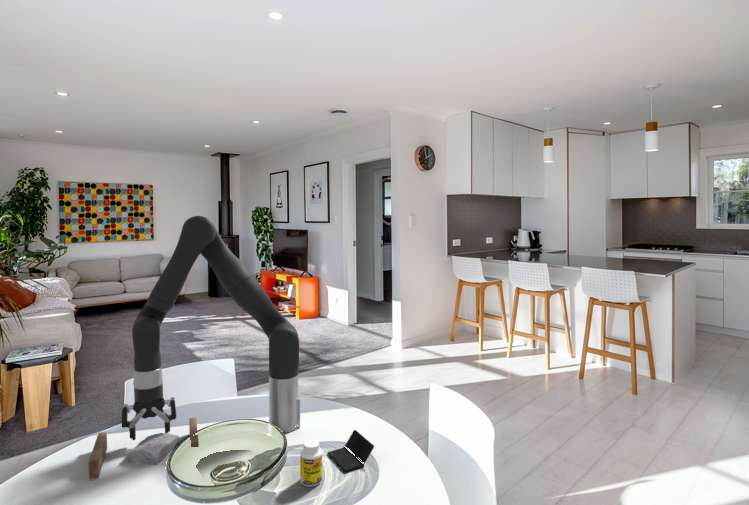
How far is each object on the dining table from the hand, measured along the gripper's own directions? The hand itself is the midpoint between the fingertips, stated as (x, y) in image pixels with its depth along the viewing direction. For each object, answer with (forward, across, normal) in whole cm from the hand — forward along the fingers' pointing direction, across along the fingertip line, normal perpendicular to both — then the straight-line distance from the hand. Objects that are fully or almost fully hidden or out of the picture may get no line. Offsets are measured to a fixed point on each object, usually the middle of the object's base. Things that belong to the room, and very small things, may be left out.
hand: (150, 436), depth 132 cm
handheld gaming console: (+3, -52, +30) cm, 60 cm away
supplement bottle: (+3, -39, +36) cm, 53 cm away
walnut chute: (+2, 0, +6) cm, 7 cm away
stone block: (+3, -1, +6) cm, 6 cm away
